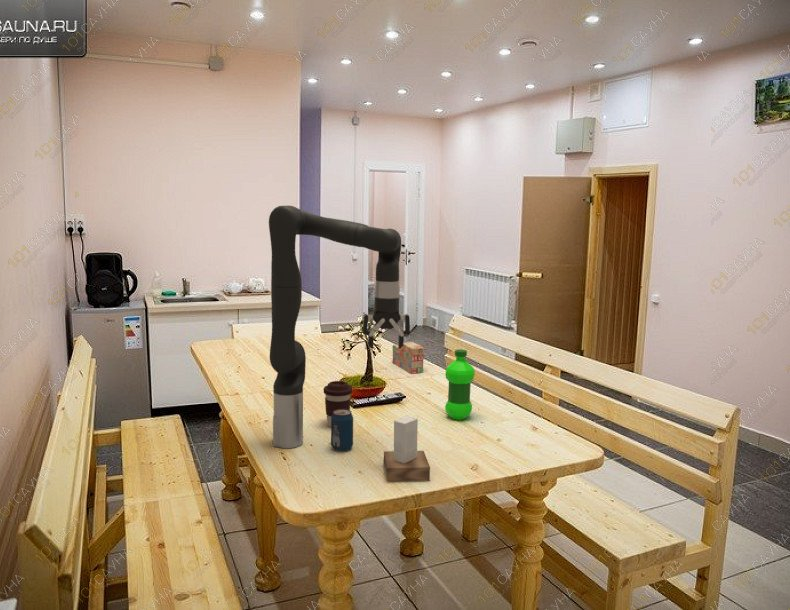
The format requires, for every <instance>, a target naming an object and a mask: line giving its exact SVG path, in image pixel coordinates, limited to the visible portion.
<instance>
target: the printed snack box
mask: <svg viewBox="0 0 790 610" xmlns="http://www.w3.org/2000/svg"><path fill="white" fill-rule="evenodd" d="M424 353H425V348H424V347H423V346H422V345H420V344H418V343H416V342H413V341H408V342H404V344H403V347H401V349H399V348H398V344H392V364H394V366H396V367H398V368H400V369H402V370H403V371H405V372H406V373H407V374H410V375H417V374H423V373H424V360H425V358H424V357H425V355H424Z"/></svg>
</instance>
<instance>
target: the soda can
mask: <svg viewBox="0 0 790 610" xmlns="http://www.w3.org/2000/svg"><path fill="white" fill-rule="evenodd" d="M353 445H354V416H353V413H352V411H351V409H350V410H348V409H337V410H334V411H333V414H332V416H331V427H330V446H331V448H332V449H333V451H336V452H341V453H342V452H348V451H351V449H352V447H353Z"/></svg>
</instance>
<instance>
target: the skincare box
mask: <svg viewBox="0 0 790 610" xmlns="http://www.w3.org/2000/svg"><path fill="white" fill-rule="evenodd" d="M418 421H419V420H418V418H416V417H415V416H414V417H413V416H410V415H405V416H403V417H399V418H397V419H395V420H393V426H394V427H393V451H394V460H395V461H398V462H401V463H404V464H405V463H407V462H409V461H411V460H413V459H415V458H417V451H418Z"/></svg>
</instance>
